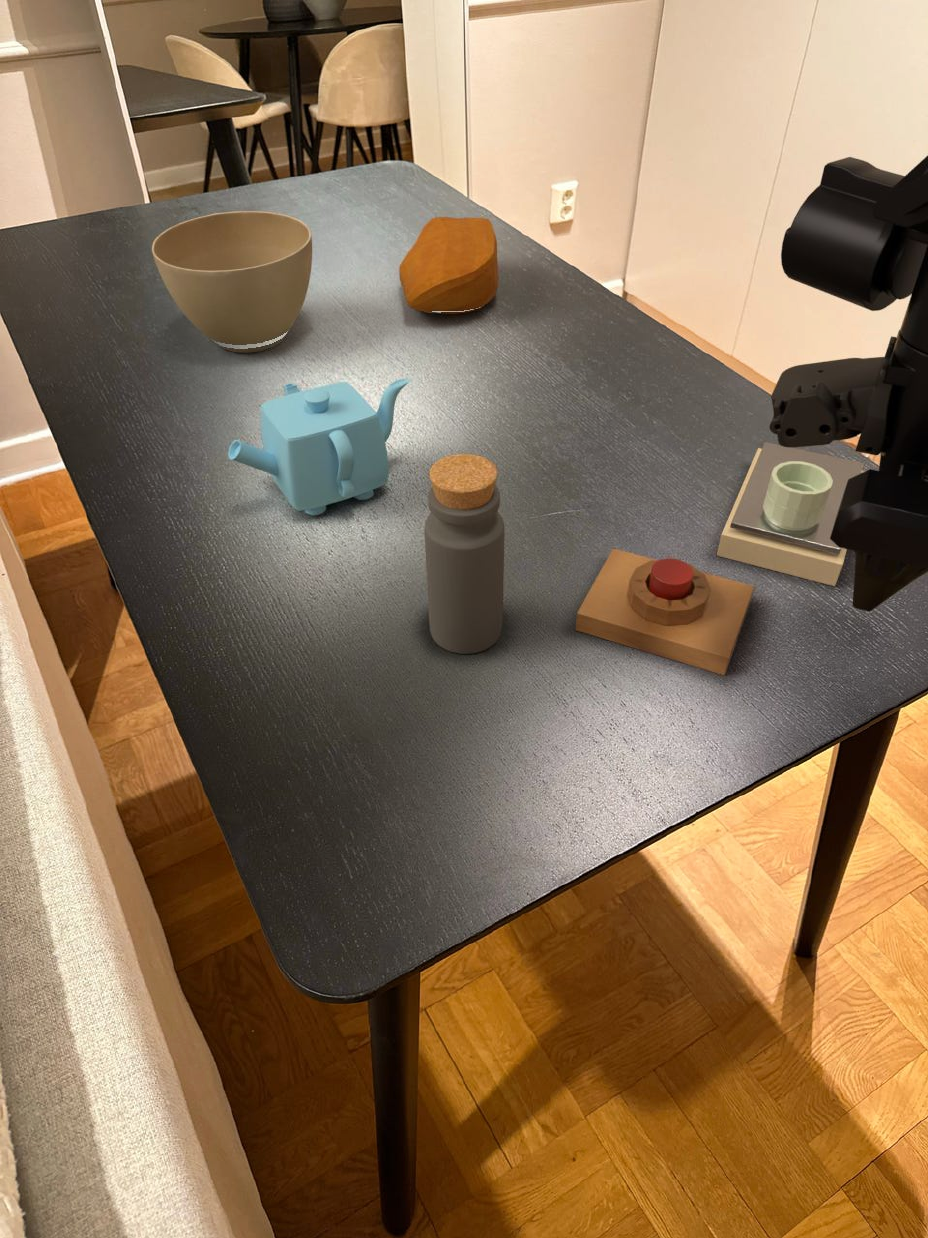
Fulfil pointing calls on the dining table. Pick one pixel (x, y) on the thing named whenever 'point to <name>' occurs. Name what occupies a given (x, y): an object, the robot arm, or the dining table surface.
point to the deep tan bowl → (237, 274)
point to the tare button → (671, 579)
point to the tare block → (665, 613)
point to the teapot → (323, 444)
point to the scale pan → (754, 495)
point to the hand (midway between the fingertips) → (871, 565)
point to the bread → (451, 266)
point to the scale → (778, 550)
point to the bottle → (464, 554)
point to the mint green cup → (797, 495)
